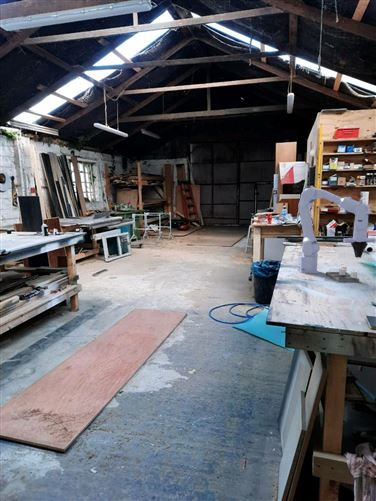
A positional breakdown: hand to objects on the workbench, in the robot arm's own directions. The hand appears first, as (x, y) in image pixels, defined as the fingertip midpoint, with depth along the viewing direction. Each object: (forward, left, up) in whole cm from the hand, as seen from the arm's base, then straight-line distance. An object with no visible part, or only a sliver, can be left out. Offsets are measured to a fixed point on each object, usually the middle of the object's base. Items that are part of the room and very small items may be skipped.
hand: (358, 257), depth 156 cm
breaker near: (-4, -6, -9) cm, 11 cm away
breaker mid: (-7, 0, -9) cm, 11 cm away
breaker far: (-4, +6, -9) cm, 11 cm away
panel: (-7, 0, -10) cm, 13 cm away
